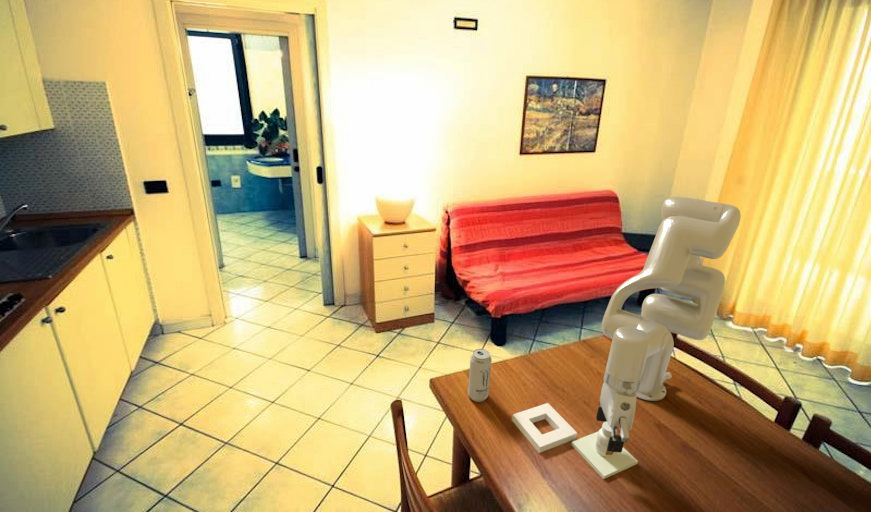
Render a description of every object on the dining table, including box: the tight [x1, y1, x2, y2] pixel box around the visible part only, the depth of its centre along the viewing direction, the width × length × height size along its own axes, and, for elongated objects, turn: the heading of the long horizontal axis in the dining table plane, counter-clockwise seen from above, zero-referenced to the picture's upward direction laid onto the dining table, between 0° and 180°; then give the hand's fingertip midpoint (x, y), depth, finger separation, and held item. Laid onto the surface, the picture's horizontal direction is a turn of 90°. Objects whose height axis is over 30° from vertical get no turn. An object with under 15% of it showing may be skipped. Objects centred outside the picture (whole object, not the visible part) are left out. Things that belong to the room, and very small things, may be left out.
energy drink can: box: [467, 348, 492, 403], centre depth 118 cm, size 6×6×15 cm
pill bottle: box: [595, 421, 618, 457], centre depth 101 cm, size 4×4×8 cm
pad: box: [571, 430, 638, 480], centre depth 102 cm, size 11×11×1 cm
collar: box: [511, 402, 578, 454], centre depth 109 cm, size 12×12×2 cm
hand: (608, 435), depth 100 cm, fingers open, 9 cm apart
